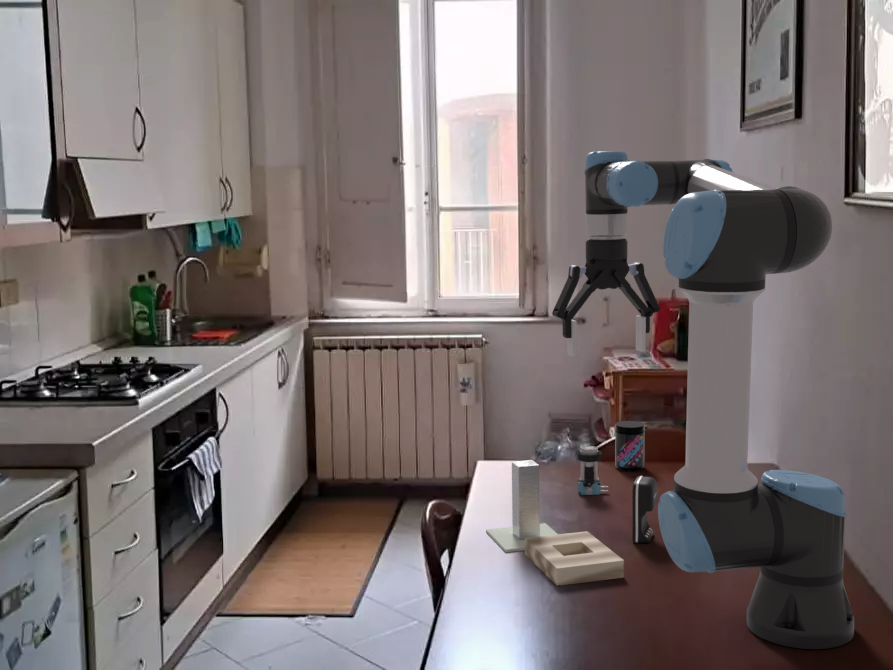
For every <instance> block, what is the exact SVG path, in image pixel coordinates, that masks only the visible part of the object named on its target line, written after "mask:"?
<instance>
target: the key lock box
mask: <svg viewBox="0 0 893 670" xmlns="http://www.w3.org/2000/svg"><path fill="white" fill-rule="evenodd" d="M657 485H658V483H657V480H656V479H655V478H654V477H652V476H643V475H639V476H637V477H636V478H635V480H634V481H633V484H632V491H631V492H632V495H631V498H632V503H631V504H632V505H631V507H632V508H631V509H632V511H631V515H632V516H631V517H632V518H631V519H632V520H631V521H632V525H631V526H632V533H631V535H632V536H631V537H632V538H631V539H632V543H633V542H634V543H636V544H638V543H645V544H646V543H649V542H651V540H652V538H653V536H654V530H653V528H651V526H650V524H649V521H648V512H652V511H654V509H655V507H656V506H657V503H658V486H657Z"/></svg>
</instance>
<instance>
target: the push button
mask: <svg viewBox="0 0 893 670" xmlns="http://www.w3.org/2000/svg"><path fill="white" fill-rule="evenodd" d="M602 454H603V453H602V451H601V450H598V447H597V446H596V445H595V446H593V445H584V446H583V445H582V446H581V447H580V449H579V450H577V451H576V456H577V460H578V461H579V462H580V477H579V479H578V480H577V493H578V495H582V496H585V495H586V496H588V495H589V496H591V495H592V496H594V495H596V496H597V495H601V492H603V493H604V492H609V490H608V489H601V488H609V486H608V485H601V481H600V478H599V475H598V466H599V465H598V462H599V461H601V456H602Z"/></svg>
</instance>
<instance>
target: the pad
mask: <svg viewBox="0 0 893 670" xmlns="http://www.w3.org/2000/svg"><path fill="white" fill-rule="evenodd" d="M485 532H486V534H487V535H488V536H489V537H490V538H491V539H492V540H493V541H494V542H495V543H496V544H497V545H498V546H499V547H500V548H501V549H502V550H503V551H504V552H505V553H511V552H520V551H525V540H519V539H518V538H517V537H515V536H514V535H513V526H505V527H498V528H488V529H485ZM558 534H559V533H557V532H556V531H555V530H554V529H553V528H551V526H549V525H548V524H547V523H546V522H543V523H540V536H549V535H558Z"/></svg>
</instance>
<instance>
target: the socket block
mask: <svg viewBox="0 0 893 670" xmlns="http://www.w3.org/2000/svg"><path fill="white" fill-rule="evenodd" d="M557 534H558V535H549V536H540V537H531V538H525V550H524V555H525V556H526V557H527V558H528V559H529V560H530V561H531V562H532V563H533V564H534V565H536V567H537V568H538V569H540V571H541V572H542V573H543V574H545V576H546V577H547V578H548V579H549V580H551V582H552V583H554V585H555V586H559V585H560V586H566V585H575V584H581V583H590V582H599V581H606V580H614V579H622V578H624V577H625V560H624V558H622V557H620V556H619V555H618V554H616V553H615V552H614V551H613V550H611V549H610V548H609V547H608V546H606V545H605V544H604V543H603V542H602V541H600V540H599V539H598V538H596V537H595V536H594V535H593V534H592V533H590V531H578V532H569V533H557Z"/></svg>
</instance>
